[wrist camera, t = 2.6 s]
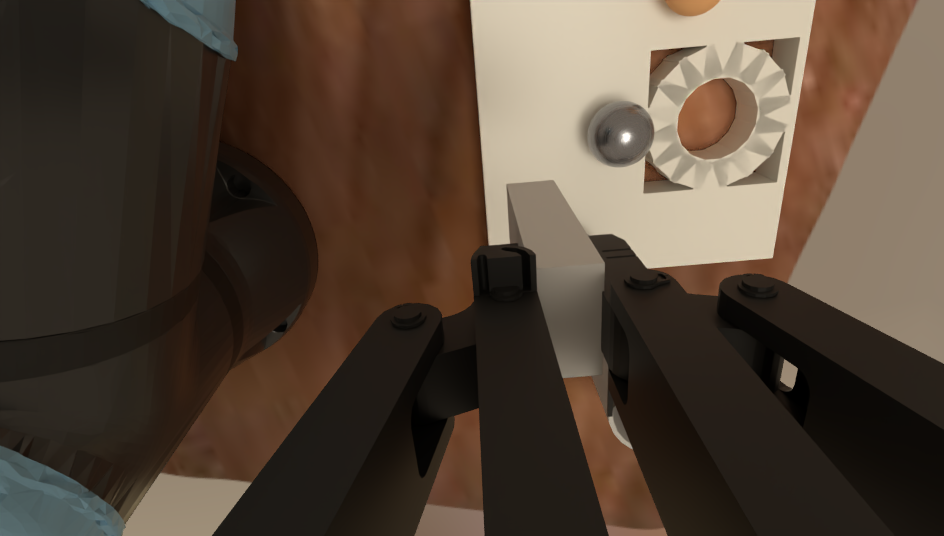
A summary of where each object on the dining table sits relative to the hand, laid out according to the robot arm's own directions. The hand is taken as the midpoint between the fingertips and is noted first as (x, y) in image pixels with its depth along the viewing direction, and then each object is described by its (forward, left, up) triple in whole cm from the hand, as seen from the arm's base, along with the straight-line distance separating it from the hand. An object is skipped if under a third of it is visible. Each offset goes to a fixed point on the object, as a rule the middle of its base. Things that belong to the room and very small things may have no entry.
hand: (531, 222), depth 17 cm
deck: (+8, 0, -17) cm, 19 cm away
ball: (+6, 0, -13) cm, 14 cm away
